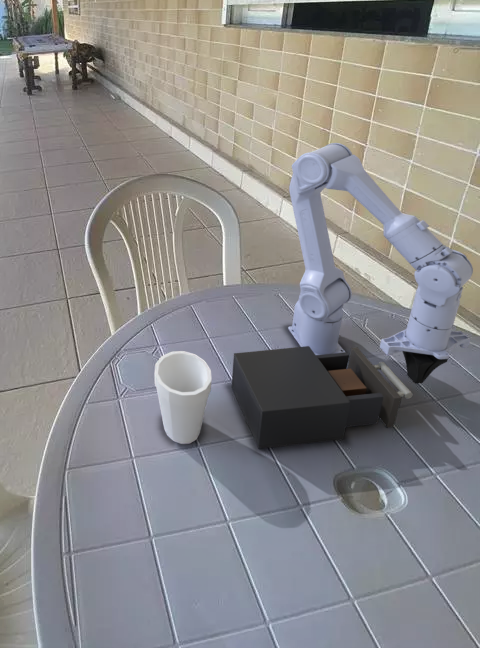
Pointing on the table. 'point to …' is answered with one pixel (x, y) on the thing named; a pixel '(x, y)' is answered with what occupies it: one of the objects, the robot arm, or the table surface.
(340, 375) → the block
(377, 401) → the sliding drawer
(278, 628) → the table surface
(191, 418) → the foam cup
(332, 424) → the black drawer box
